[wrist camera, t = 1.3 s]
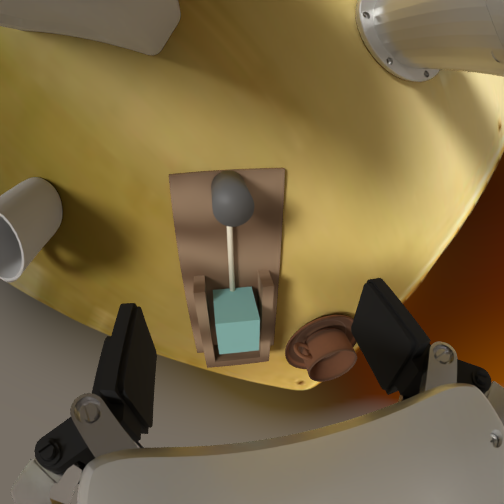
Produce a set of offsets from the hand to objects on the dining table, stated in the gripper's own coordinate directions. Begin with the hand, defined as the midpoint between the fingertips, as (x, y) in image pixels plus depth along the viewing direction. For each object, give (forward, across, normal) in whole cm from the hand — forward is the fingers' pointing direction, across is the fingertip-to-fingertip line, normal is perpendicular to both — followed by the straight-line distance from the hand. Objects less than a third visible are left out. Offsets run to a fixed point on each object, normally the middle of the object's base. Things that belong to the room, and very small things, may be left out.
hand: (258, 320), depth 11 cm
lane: (+18, 0, +11) cm, 21 cm away
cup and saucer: (+18, -13, +24) cm, 33 cm away
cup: (+18, +22, +1) cm, 28 cm away
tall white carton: (+18, +11, -24) cm, 32 cm away
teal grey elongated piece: (+17, 0, +8) cm, 19 cm away
